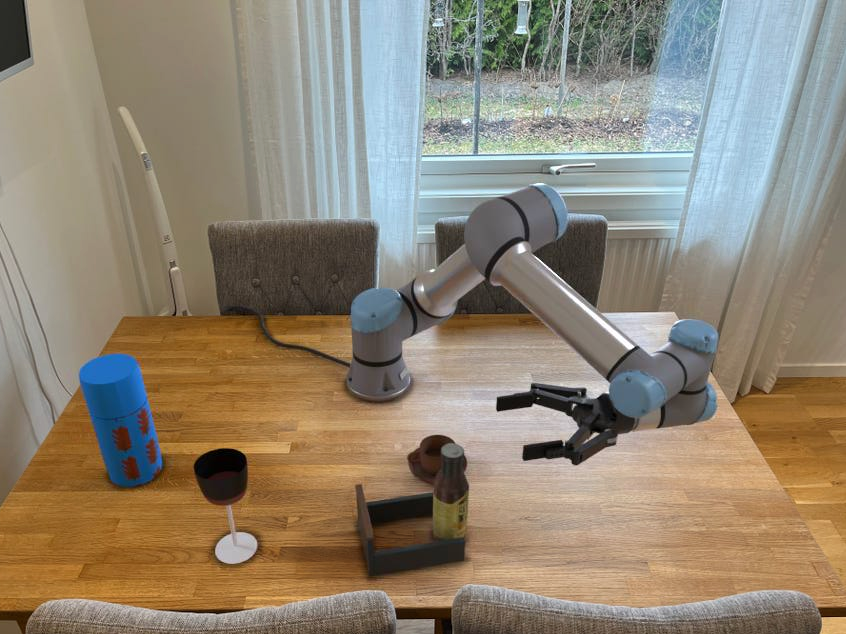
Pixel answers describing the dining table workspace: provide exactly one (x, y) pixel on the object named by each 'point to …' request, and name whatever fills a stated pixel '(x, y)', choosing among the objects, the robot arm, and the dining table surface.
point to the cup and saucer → (429, 458)
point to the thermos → (121, 418)
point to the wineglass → (226, 497)
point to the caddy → (405, 555)
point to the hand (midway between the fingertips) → (509, 427)
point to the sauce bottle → (450, 495)
